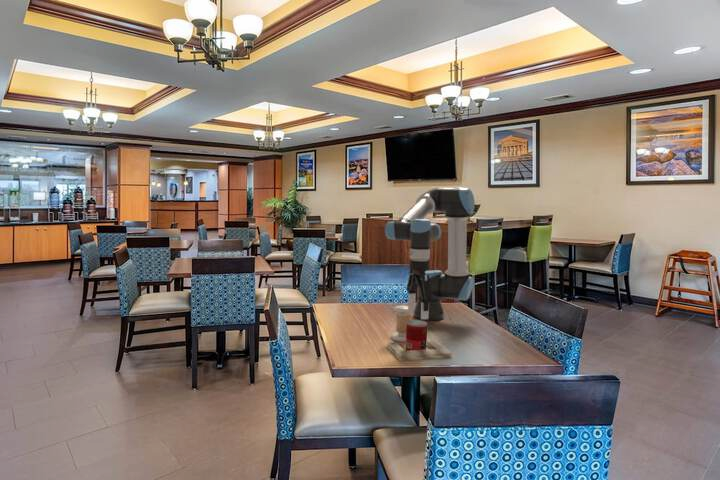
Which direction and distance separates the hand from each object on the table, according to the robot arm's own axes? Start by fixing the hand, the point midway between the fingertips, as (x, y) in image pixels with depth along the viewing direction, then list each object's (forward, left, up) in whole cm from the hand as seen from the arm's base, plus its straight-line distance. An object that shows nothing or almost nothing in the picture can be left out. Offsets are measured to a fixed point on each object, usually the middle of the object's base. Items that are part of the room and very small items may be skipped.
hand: (417, 314), depth 172 cm
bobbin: (0, -15, -14) cm, 21 cm away
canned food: (0, 0, -14) cm, 14 cm away
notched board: (0, +3, -14) cm, 14 cm away
